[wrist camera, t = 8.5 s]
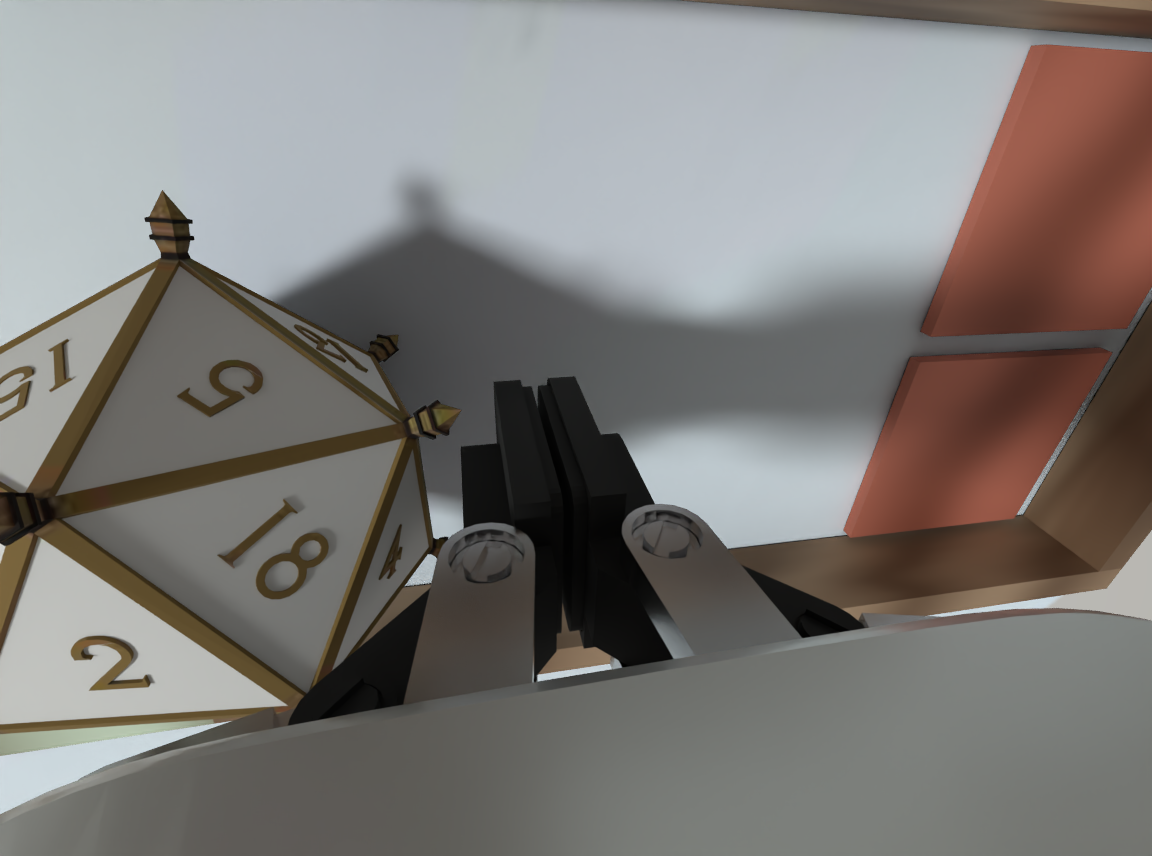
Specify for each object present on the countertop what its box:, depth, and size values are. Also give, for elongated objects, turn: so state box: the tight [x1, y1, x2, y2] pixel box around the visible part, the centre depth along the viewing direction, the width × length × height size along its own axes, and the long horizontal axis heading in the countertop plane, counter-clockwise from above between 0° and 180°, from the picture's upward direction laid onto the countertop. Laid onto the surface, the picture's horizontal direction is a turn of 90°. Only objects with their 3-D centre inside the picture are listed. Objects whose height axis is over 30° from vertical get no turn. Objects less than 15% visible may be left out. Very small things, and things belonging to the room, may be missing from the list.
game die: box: [0, 190, 461, 734], centre depth 10 cm, size 9×8×10 cm
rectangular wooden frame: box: [0, 0, 1152, 756], centre depth 13 cm, size 40×17×3 cm, turn 88°
